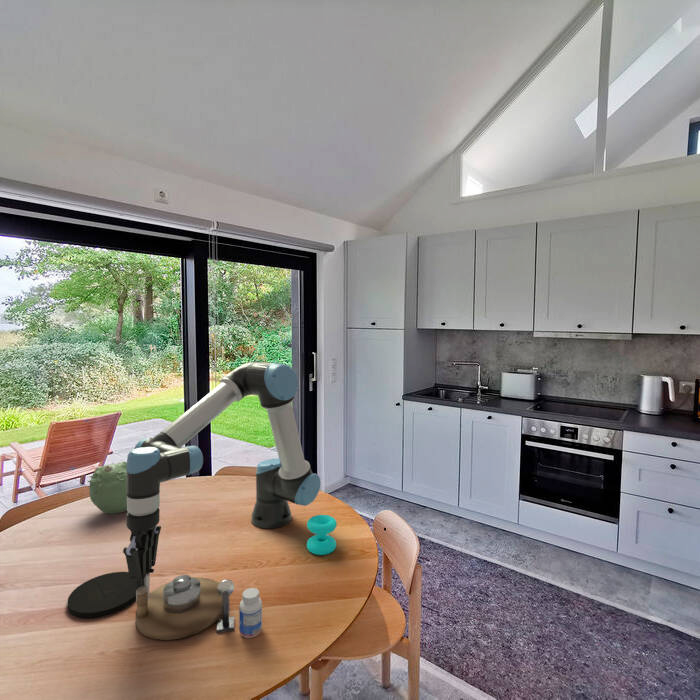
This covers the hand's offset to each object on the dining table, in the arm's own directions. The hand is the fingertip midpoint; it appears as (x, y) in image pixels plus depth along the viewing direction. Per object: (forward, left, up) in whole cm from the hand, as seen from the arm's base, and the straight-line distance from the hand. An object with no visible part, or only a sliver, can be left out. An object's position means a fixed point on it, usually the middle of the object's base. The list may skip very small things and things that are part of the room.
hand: (142, 599), depth 108 cm
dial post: (-21, +9, -4) cm, 23 cm away
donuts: (-51, -22, -4) cm, 56 cm away
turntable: (-10, +1, -4) cm, 11 cm away
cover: (-10, +1, -2) cm, 10 cm away
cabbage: (+23, -66, -4) cm, 70 cm away
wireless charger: (+11, -10, -5) cm, 16 cm away
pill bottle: (-27, +12, -4) cm, 30 cm away
